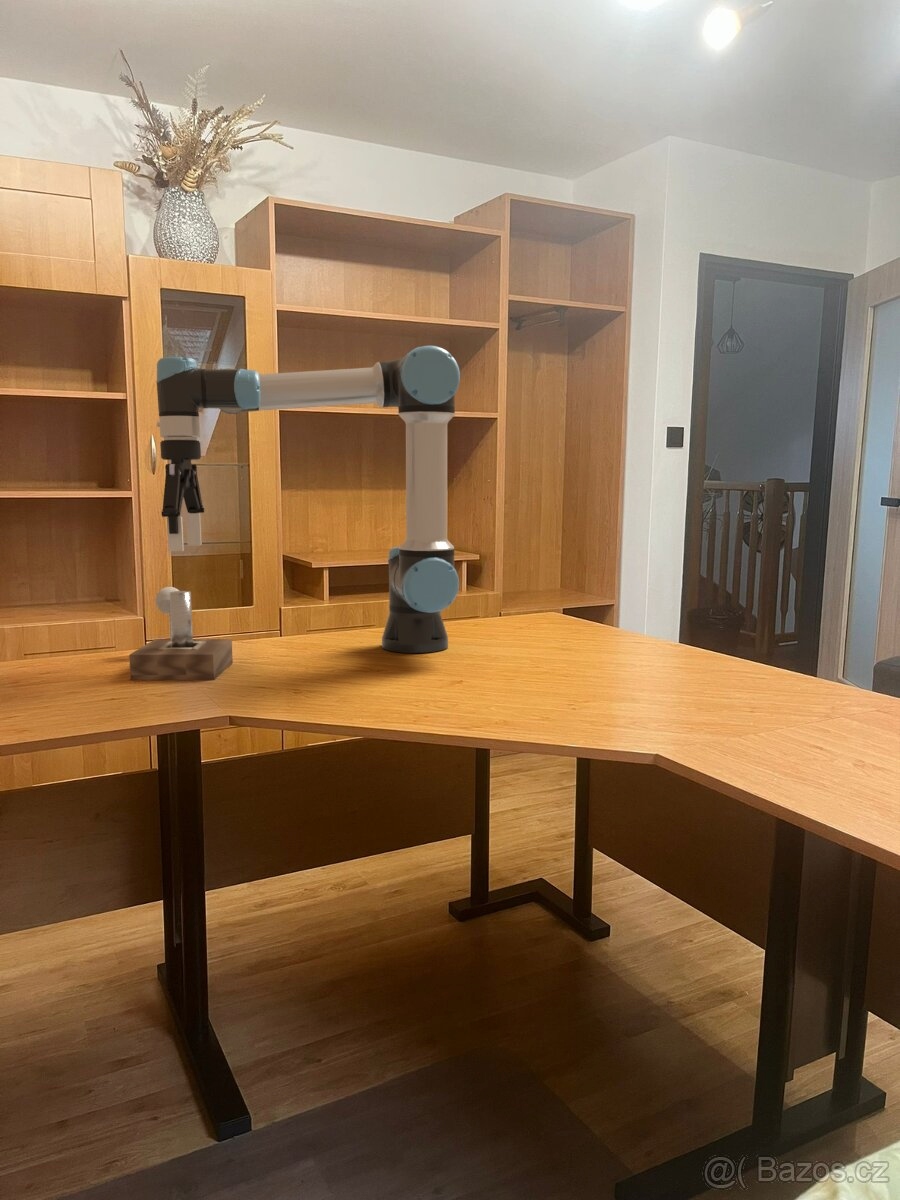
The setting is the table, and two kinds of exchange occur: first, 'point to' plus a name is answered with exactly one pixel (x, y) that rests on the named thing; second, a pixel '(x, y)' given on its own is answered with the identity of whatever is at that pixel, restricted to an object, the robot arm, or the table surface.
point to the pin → (181, 619)
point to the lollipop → (165, 602)
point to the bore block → (181, 660)
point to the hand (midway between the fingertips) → (185, 548)
